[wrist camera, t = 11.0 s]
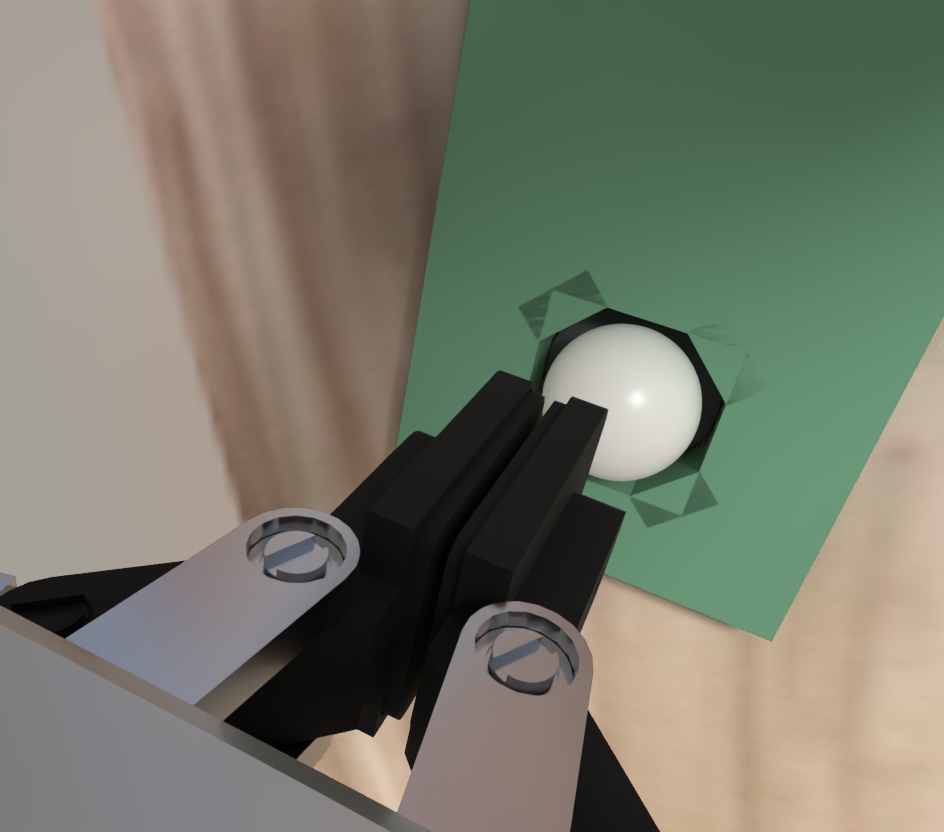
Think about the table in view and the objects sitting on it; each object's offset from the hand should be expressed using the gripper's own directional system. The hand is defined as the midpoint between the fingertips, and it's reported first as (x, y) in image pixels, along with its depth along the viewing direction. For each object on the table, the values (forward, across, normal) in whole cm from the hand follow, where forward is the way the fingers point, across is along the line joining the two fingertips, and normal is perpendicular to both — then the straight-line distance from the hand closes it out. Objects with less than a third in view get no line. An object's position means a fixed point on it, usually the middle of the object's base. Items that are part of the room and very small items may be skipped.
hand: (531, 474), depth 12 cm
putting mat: (+21, +1, +3) cm, 21 cm away
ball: (+18, +1, +8) cm, 19 cm away
